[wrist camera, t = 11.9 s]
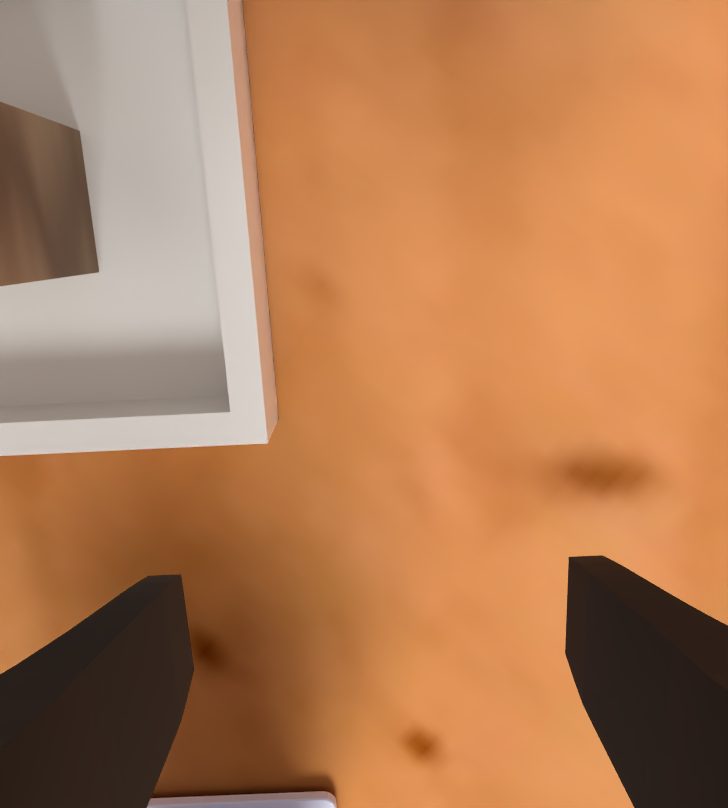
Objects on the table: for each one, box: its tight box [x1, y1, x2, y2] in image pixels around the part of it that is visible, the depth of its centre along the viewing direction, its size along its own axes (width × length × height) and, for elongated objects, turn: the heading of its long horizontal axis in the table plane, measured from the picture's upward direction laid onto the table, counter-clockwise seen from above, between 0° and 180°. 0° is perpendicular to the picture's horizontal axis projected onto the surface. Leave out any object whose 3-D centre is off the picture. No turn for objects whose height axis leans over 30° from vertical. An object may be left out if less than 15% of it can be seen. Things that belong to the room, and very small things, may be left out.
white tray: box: [0, 0, 279, 456], centre depth 18 cm, size 14×14×2 cm
